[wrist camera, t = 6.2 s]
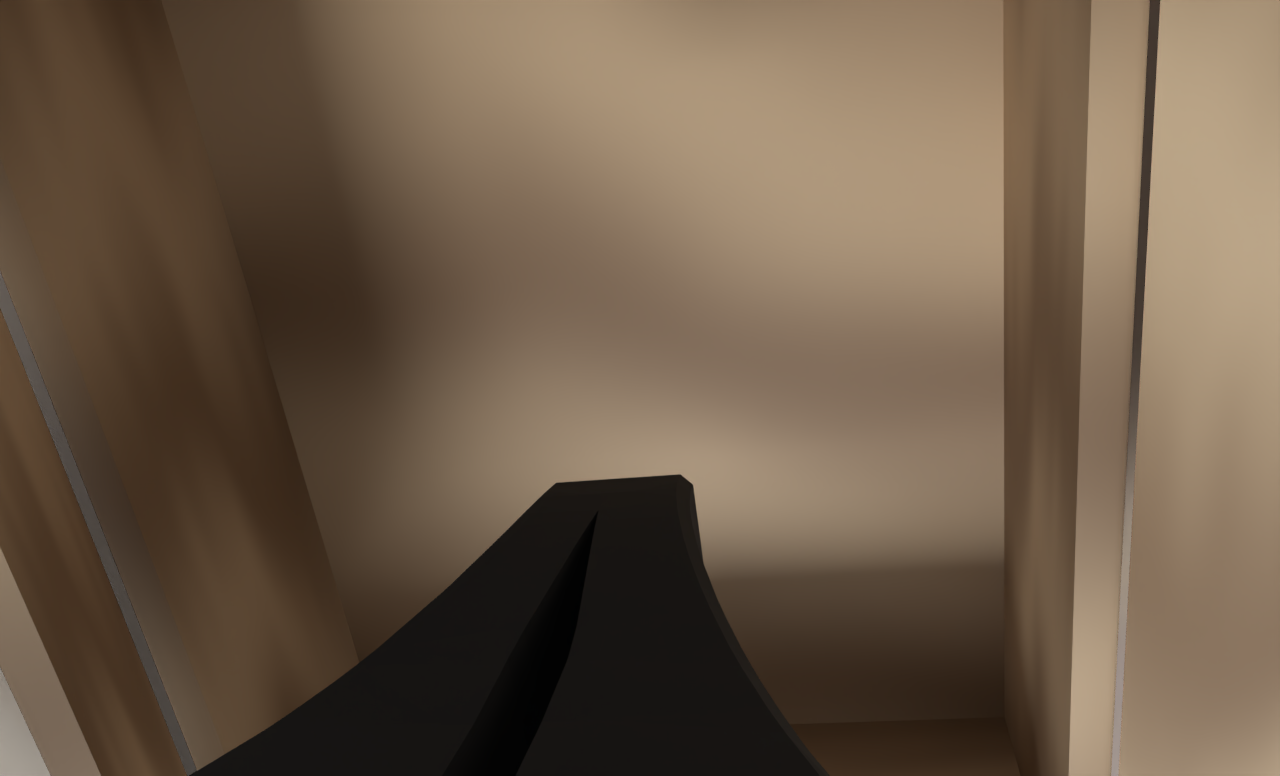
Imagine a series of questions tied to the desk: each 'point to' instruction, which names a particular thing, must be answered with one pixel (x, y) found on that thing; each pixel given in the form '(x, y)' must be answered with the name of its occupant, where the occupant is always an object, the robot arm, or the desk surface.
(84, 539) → the flap
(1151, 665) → the flap
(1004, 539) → the carton
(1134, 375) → the desk surface
